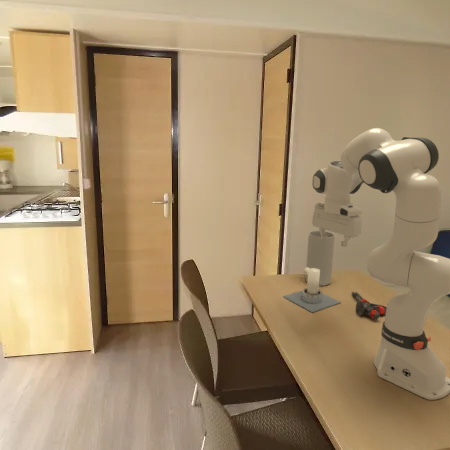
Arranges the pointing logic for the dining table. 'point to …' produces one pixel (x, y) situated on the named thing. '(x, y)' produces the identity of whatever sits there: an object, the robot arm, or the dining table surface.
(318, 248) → the cylinder vase
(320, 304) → the slate plate
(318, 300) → the collar
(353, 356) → the dining table surface
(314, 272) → the cream peg
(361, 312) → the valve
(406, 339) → the robot arm
